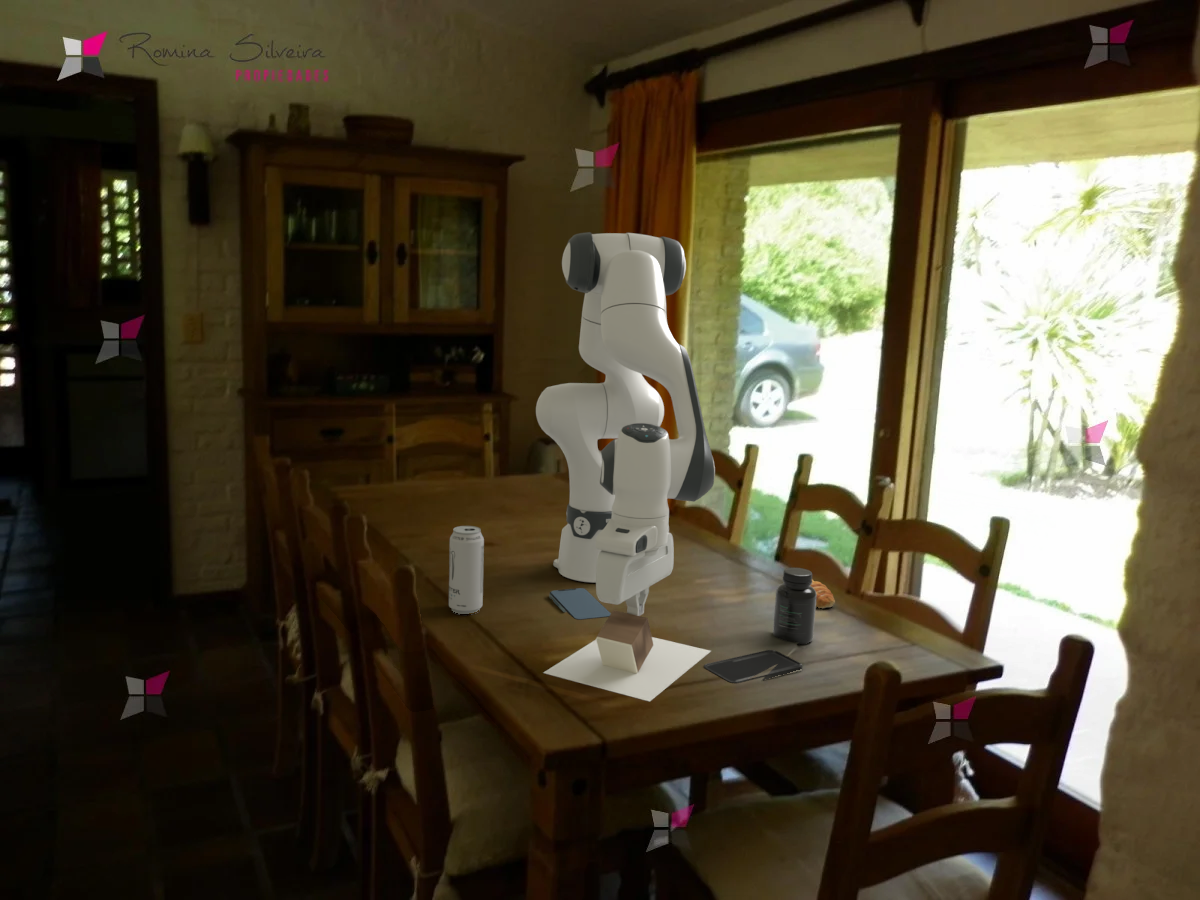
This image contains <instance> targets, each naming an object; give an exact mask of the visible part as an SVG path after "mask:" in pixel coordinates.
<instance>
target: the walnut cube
mask: <svg viewBox="0 0 1200 900" xmlns="http://www.w3.org/2000/svg"><path fill="white" fill-rule="evenodd" d="M610 613H611V614H610V616H609V617H607V618H606V620H605V622H604V624H603V625H602V627H601V629H600V630H599V632H598V633H597V635H596V637H595V640H597V644H598V648H599V652H600V656H601V660H602V664H603V665H605V666H609V667H613V668H617V669H621V670H625V671H629V672H633V673H637V672H638V671H639V670H640V668H641V666H642V664H643V663H644V661H645V659H646V657H647V656H648V654H649V652H650V650H651V649H652V647H653V641H652V637H653V636H652V632H651V627H650V621H649V618H648V617H645V616H642V615H640V616H637V615H633V614H628V613H627V612H623V611H619V610H612V612H610Z"/></svg>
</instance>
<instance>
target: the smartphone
mask: <svg viewBox="0 0 1200 900" xmlns="http://www.w3.org/2000/svg"><path fill="white" fill-rule="evenodd" d="M548 597H549V599H550V600H551V599H552V600H553V601H552V600H551V601H552V602H553V603H554V604H555V605H556V606H557V607H558V608H559V609H560V610H561V611H562V612H563V613H567V614H568V615H570V616H571V617H572V618H573V619H574V620H577V621H579V620H580V621H582V620H583V621H584V620H590V619H592V620H593V619H594V620H595V619H604V618H609V616H610V614H611V613H612V612H610V611H609V610H607V608H606V607H605V606H604V605H603V604H601V602H600V601H599V600H598V599H597V598H595V597H594V596H593V594H591V593H590V592H589V591H588V590H587V589H586V588H584V587H580V588H575V587H573V588H565V589H557V590H556V589H555V590H551V591H549V595H548Z"/></svg>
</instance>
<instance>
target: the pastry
mask: <svg viewBox="0 0 1200 900" xmlns="http://www.w3.org/2000/svg"><path fill="white" fill-rule="evenodd" d="M810 586H811V587H813V588H814V589H815V591H816V594H817V596H816V608H817V607H818V609H820V608H822V609H826V608H831V607H832V608H833V606H834V605H835V603H836V600H835V598H834V594H833V593H832V592H831V590H830V589H828V586H826V585H825V584H823V583H822V582H820V581H814V579H812V584H811V585H810Z"/></svg>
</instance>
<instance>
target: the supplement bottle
mask: <svg viewBox="0 0 1200 900" xmlns="http://www.w3.org/2000/svg"><path fill="white" fill-rule="evenodd" d="M812 580H813V573H812V571H810V570H809V569H805V568H803V567H802V568H801V567H788V568H785V569H783V575H782V582H783V583H781V584H779V585H778V586H777V588H776V589H775V590H776V591H775V600H774V601H775V602H774V612H773V614H774V615H773V624H772V626H773V627H772V628H773V629H772V634H773V636H774V637H775V638H777V639H779V640H781V641H784V642H790V643H796V645H797V646H801V645H800V644H804V645H808V644H810V643H811V642H812V641H813V639H814V631H815V618H816V609H817V607H816V596H817V594H816V591H815V589H814V588H813V587H811V586H810V585H811V584H812ZM809 642H810V643H809ZM807 643H808V644H807ZM798 644H799V645H798Z"/></svg>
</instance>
